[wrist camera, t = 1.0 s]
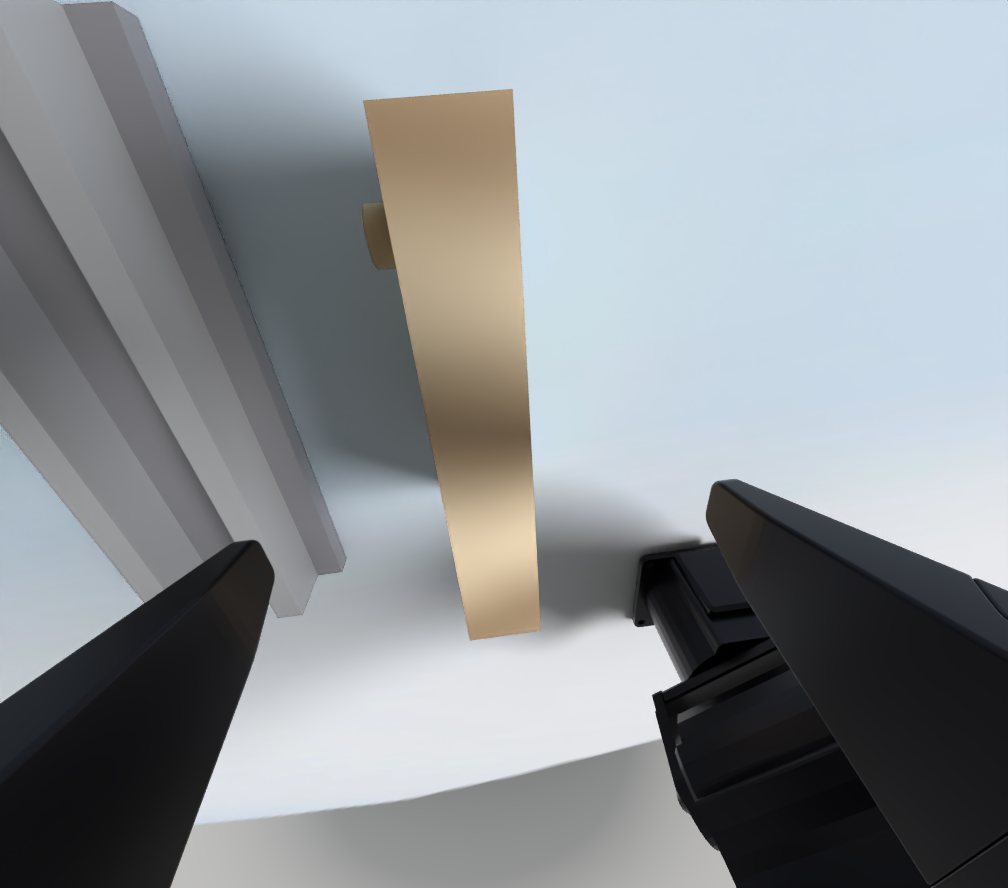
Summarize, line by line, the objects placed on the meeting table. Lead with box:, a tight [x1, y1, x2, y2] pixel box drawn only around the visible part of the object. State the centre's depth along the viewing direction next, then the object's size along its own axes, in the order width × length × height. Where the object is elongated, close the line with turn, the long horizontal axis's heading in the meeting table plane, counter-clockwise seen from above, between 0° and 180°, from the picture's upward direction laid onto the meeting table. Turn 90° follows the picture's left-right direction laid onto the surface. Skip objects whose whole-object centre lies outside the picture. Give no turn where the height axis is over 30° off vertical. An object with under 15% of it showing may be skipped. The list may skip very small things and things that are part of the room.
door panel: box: [362, 89, 541, 640], centre depth 14 cm, size 14×3×9 cm, turn 5°
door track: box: [0, 0, 346, 618], centre depth 16 cm, size 22×9×4 cm, turn 5°
